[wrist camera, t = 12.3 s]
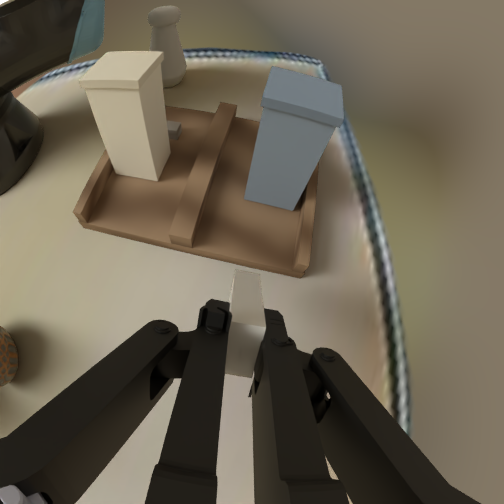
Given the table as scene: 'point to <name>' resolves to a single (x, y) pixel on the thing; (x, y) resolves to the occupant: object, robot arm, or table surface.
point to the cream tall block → (130, 111)
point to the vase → (7, 357)
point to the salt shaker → (167, 43)
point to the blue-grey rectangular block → (291, 135)
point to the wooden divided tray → (203, 198)
